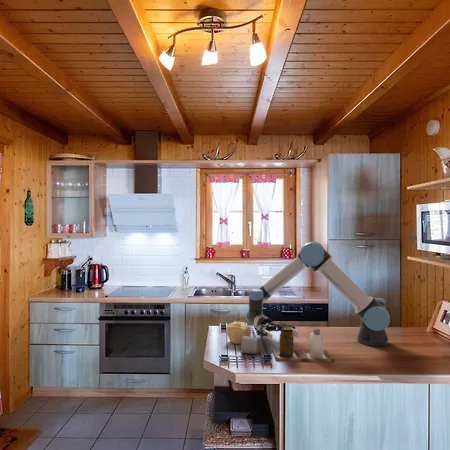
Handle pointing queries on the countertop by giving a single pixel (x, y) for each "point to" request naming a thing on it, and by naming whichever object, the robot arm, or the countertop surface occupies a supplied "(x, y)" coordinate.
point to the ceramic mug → (250, 345)
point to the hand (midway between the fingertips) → (284, 335)
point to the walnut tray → (305, 357)
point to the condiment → (286, 343)
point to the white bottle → (316, 344)
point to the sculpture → (237, 331)
